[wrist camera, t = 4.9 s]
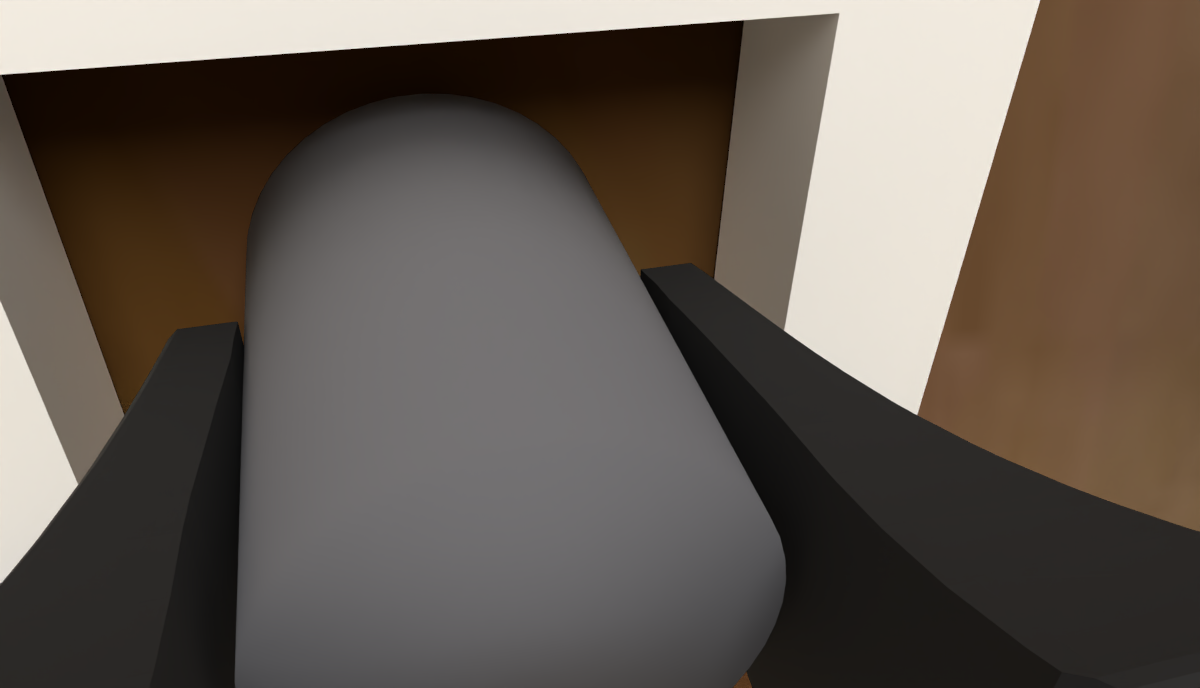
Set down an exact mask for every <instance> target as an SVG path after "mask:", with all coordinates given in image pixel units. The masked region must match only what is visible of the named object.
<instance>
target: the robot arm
mask: <svg viewBox="0 0 1200 688" xmlns="http://www.w3.org/2000/svg"><path fill="white" fill-rule="evenodd" d="M641 280H642V282H643V284H644V286H645V287H646V289H647V291H648V293H649V295H650V297H651V299H652V300H653V302H654V304H655V306H656V308H657V310H658V311H659V313H660V315H661V317H662V319H663V321H664V322H665V324H666V326H667V328H668V330H669V332H670V333H671V335H672V337H673V339H674V341H675V343H676V345H677V346H678V348H679V350H680V352H681V354H682V356H683V357H684V359H685V361H686V363H687V365H688V367H689V368H690V370H691V372H692V374H693V376H694V378H695V379H696V381H697V383H698V385H699V387H700V389H701V391H702V392H703V394H704V396H705V398H706V400H707V402H708V403H709V405H710V407H711V409H712V411H713V413H714V414H715V416H716V418H717V420H718V422H719V424H720V425H721V427H722V429H723V431H724V433H725V435H726V437H727V438H728V440H729V442H730V444H731V446H732V448H733V449H734V451H735V453H736V455H737V457H738V459H739V460H740V462H741V464H742V466H743V468H744V470H745V471H746V473H747V475H748V477H749V479H750V481H751V483H752V484H753V486H754V488H755V490H756V492H757V494H758V495H759V497H760V499H761V501H762V503H763V505H764V506H765V508H766V510H767V512H768V514H769V516H770V517H771V520H772V522H773V524H774V526H775V528H776V530H777V532H778V534H779V536H780V539H781V543H782V547H783V551H784V555H785V564H786V584H785V590H784V596H783V603H782V606H781V609H780V612H779V615H778V618H777V621H776V624H775V626H774V628H773V630H772V632H771V634H770V636H769V638H768V640H767V642H766V644H765V646H764V647H763V649H762V650H761V652H760V653H759V654H758V656H757V657H756V659H755V660H754V662H753V663H752V665H751V666H750V668H749V669H748V670H747V674H748V677H749V680H750V682H751V685H752V688H1200V532H1198V531H1195V530H1192V529H1188V528H1185V527H1182V526H1179V525H1176V524H1173V523H1170V522H1167V521H1164V520H1161V519H1158V518H1155V517H1153V516H1150V515H1147V514H1144V513H1141V512H1138V511H1135V510H1132V509H1129V508H1126V507H1123V506H1120V505H1117V504H1115V503H1112V502H1109V501H1106V500H1104V499H1101V498H1099V497H1096V496H1093V495H1091V494H1088V493H1085V492H1083V491H1080V490H1077V489H1075V488H1072V487H1070V486H1067V485H1065V484H1062V483H1060V482H1057V481H1055V480H1053V479H1050V478H1048V477H1046V476H1043V475H1041V474H1039V473H1036V472H1034V471H1032V470H1029V469H1027V468H1025V467H1022V466H1020V465H1017V464H1015V463H1013V462H1010V461H1008V460H1006V459H1004V458H1001V457H999V456H997V455H995V454H993V453H991V452H989V451H986V450H984V449H982V448H980V447H978V446H976V445H974V444H972V443H970V442H968V441H966V440H964V439H962V438H960V437H958V436H956V435H954V434H952V433H950V432H948V431H946V430H944V429H943V428H941V427H939V426H937V425H935V424H933V423H931V422H929V421H927V420H925V419H923V418H921V417H919V416H917V415H916V414H914V413H912V412H910V411H909V410H907V409H905V408H903V407H901V406H900V405H898V404H896V403H894V402H893V401H891V400H889V399H888V398H886V397H884V396H883V395H881V394H880V393H878V392H876V391H875V390H873V389H871V388H870V387H868V386H867V385H865V384H863V383H862V382H860V381H858V380H857V379H855V378H854V377H852V376H850V375H849V374H847V373H846V372H844V371H842V370H841V369H839V368H838V367H836V366H835V365H833V364H832V363H830V362H829V361H827V360H826V359H824V358H823V357H821V356H820V355H818V354H817V353H815V352H814V351H812V350H811V349H809V348H808V347H807V346H805V345H804V344H802V343H801V342H799V341H798V340H797V339H795V338H794V337H792V336H791V335H789V334H788V333H787V332H785V331H784V330H782V329H781V328H780V327H778V326H777V325H776V324H774V323H773V322H771V321H770V320H769V319H767V318H766V317H764V316H763V315H762V314H760V313H759V312H758V311H756V310H755V309H754V308H752V307H751V306H750V305H748V304H747V303H745V302H744V301H743V300H741V299H740V298H739V297H737V296H736V295H735V294H733V293H732V292H731V291H729V290H728V289H727V288H725V287H724V286H723V285H721V284H720V283H718V282H717V281H716V280H714V279H713V278H712V277H710V276H709V275H707V274H706V273H705V272H703V271H702V270H700V269H699V268H697V267H696V266H694V265H693V264H691V263H688V264H680V265H672V266H664V267H657V268H649V269H641ZM243 362H244V345H243V341H242V337H241V333H240V329H239V325H238V322H230V323H223V324H215V325H207V326H199V327H192V328H184V329H177V330H176V331H175V332H174V334H173V335H172V336H171V337H170V338H169V339H168V341H167V343H166V345H165V347H164V348H163V350H162V352H161V354H160V356H159V357H158V359H157V361H156V363H155V364H154V366H153V368H152V370H151V372H150V373H149V375H148V377H147V379H146V380H145V382H144V384H143V385H142V387H141V389H140V391H139V392H138V394H137V395H136V397H135V399H134V400H133V402H132V404H131V405H130V407H129V409H128V410H127V412H126V414H125V415H124V417H123V418H122V420H121V422H120V423H119V425H118V426H117V428H116V429H115V431H114V432H113V434H112V435H111V437H110V438H109V440H108V441H107V443H106V444H105V446H104V447H103V449H102V450H101V452H100V454H99V455H98V457H97V458H96V460H95V461H94V463H93V464H92V466H91V467H90V469H89V470H88V472H87V473H86V474H85V476H84V477H83V479H82V480H81V482H80V483H79V484H78V486H77V487H76V488H75V490H74V491H73V492H72V494H71V495H70V496H69V498H68V499H67V500H66V502H65V503H64V504H63V506H62V507H61V508H60V510H59V511H58V512H57V514H56V515H55V516H54V518H53V519H52V520H51V522H50V523H49V524H48V526H47V527H46V528H45V530H44V531H43V532H42V534H41V535H40V537H39V538H38V539H37V540H36V542H35V543H34V544H33V545H32V547H31V548H30V549H29V550H28V552H27V553H26V554H25V555H24V556H23V558H22V559H21V560H20V561H19V563H18V564H17V565H16V566H15V567H14V569H13V570H12V571H11V572H10V573H9V574H8V576H7V577H6V578H5V579H4V580H3V582H2V583H1V584H0V688H235V651H236V615H237V579H238V543H239V506H240V470H241V434H242V398H243Z"/></svg>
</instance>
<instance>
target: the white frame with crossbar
mask: <svg viewBox="0 0 1200 688" xmlns="http://www.w3.org/2000/svg"><path fill="white" fill-rule="evenodd" d="M1039 2H1040V0H0V584H1V583H2V582H3V580H4V579H5V578H6V577H7V576H8V574H9V573H10V572H11V571H12V570H13V569H14V567H15V566H16V565H17V564H18V563H19V561H20V560H21V559H22V558H23V556H24V555H25V554H26V553H27V552H28V550H29V549H30V548H31V547H32V545H33V544H34V543H35V542H36V540H37V539H38V538H39V537H40V535H41V534H42V532H43V531H44V530H45V528H46V527H47V526H48V524H49V523H50V522H51V520H52V519H53V518H54V516H55V515H56V514H57V512H58V511H59V510H60V508H61V507H62V506H63V504H64V503H65V502H66V500H67V499H68V498H69V496H70V495H71V494H72V492H73V491H74V490H75V488H76V487H77V486H78V484H79V483H80V482H81V480H82V479H83V477H84V476H85V474H86V473H87V472H88V470H89V469H90V467H91V466H92V464H93V463H94V461H95V460H96V458H97V457H98V455H99V454H100V452H101V450H102V449H103V447H104V446H105V444H106V443H107V441H108V440H109V438H110V437H111V435H112V434H113V432H114V431H115V429H116V428H117V426H118V425H119V423H120V422H121V420H122V418H123V417H124V413H123V410H122V408H121V405H120V402H119V399H118V397H117V394H116V391H115V388H114V386H113V383H112V380H111V377H110V374H109V372H108V369H107V366H106V363H105V361H104V358H103V355H102V352H101V350H100V347H99V344H98V341H97V338H96V336H95V333H94V330H93V327H92V325H91V322H90V319H89V316H88V313H87V311H86V308H85V305H84V302H83V300H82V297H81V294H80V291H79V289H78V286H77V283H76V280H75V277H74V275H73V272H72V269H71V266H70V264H69V261H68V258H67V255H66V253H65V250H64V247H63V244H62V241H61V239H60V236H59V233H58V230H57V228H56V225H55V222H54V219H53V217H52V214H51V211H50V208H49V205H48V203H47V200H46V197H45V194H44V192H43V189H42V186H41V183H40V181H39V178H38V175H37V172H36V169H35V167H34V164H33V161H32V158H31V156H30V153H29V150H28V147H27V144H26V142H25V139H24V136H23V133H22V131H21V128H20V125H19V122H18V120H17V117H16V114H15V111H14V108H13V106H12V103H11V100H10V97H9V95H8V92H7V89H6V86H5V84H4V81H3V78H2V75H3V74H16V73H30V72H43V71H57V70H71V69H84V68H98V67H112V66H125V65H139V64H153V63H166V62H180V61H193V60H207V59H221V58H234V57H248V56H262V55H275V54H289V53H303V52H316V51H330V50H343V49H357V48H371V47H384V46H398V45H412V44H425V43H439V42H453V41H466V40H480V39H493V38H507V37H521V36H534V35H548V34H562V33H575V32H589V31H603V30H616V29H630V28H643V27H657V26H671V25H684V24H698V23H712V22H725V21H739V20H744V25H743V34H742V42H741V51H740V60H739V68H738V77H737V86H736V94H735V103H734V112H733V120H732V129H731V138H730V146H729V155H728V164H727V172H726V181H725V190H724V198H723V207H722V216H721V224H720V233H719V242H718V250H717V259H716V268H715V276H714V280H716V281H717V282H718V283H720V284H721V285H723V286H724V287H725V288H727V289H728V290H729V291H731V292H732V293H733V294H735V295H736V296H737V297H739V298H740V299H741V300H743V301H744V302H745V303H747V304H748V305H750V306H751V307H752V308H754V309H755V310H756V311H758V312H759V313H760V314H762V315H763V316H764V317H766V318H767V319H769V320H770V321H771V322H773V323H774V324H776V325H777V326H778V327H780V328H781V329H782V330H784V331H785V332H787V333H788V334H789V335H791V336H792V337H794V338H795V339H797V340H798V341H799V342H801V343H802V344H804V345H805V346H807V347H808V348H809V349H811V350H812V351H814V352H815V353H817V354H818V355H820V356H821V357H823V358H824V359H826V360H827V361H829V362H830V363H832V364H833V365H835V366H836V367H838V368H839V369H841V370H842V371H844V372H846V373H847V374H849V375H850V376H852V377H854V378H855V379H857V380H858V381H860V382H862V383H863V384H865V385H867V386H868V387H870V388H871V389H873V390H875V391H876V392H878V393H880V394H881V395H883V396H884V397H886V398H888V399H889V400H891V401H893V402H894V403H896V404H898V405H900V406H901V407H903V408H905V409H907V410H909V411H910V412H912V413H914V414H916V415H917V414H918V410H919V407H920V404H921V400H922V397H923V394H924V390H925V387H926V383H927V380H928V377H929V373H930V370H931V367H932V363H933V360H934V356H935V353H936V350H937V346H938V343H939V340H940V336H941V333H942V329H943V326H944V323H945V319H946V316H947V313H948V309H949V306H950V303H951V299H952V296H953V292H954V289H955V286H956V282H957V279H958V276H959V272H960V269H961V265H962V262H963V259H964V255H965V252H966V249H967V245H968V242H969V238H970V235H971V232H972V228H973V225H974V222H975V218H976V215H977V211H978V208H979V205H980V201H981V198H982V195H983V191H984V188H985V185H986V181H987V178H988V174H989V171H990V168H991V164H992V161H993V158H994V154H995V151H996V147H997V144H998V141H999V137H1000V134H1001V131H1002V127H1003V124H1004V120H1005V117H1006V114H1007V110H1008V107H1009V104H1010V100H1011V97H1012V93H1013V90H1014V87H1015V83H1016V80H1017V77H1018V73H1019V70H1020V67H1021V63H1022V60H1023V56H1024V53H1025V50H1026V46H1027V43H1028V40H1029V36H1030V33H1031V29H1032V26H1033V23H1034V19H1035V16H1036V13H1037V9H1038V6H1039Z"/></svg>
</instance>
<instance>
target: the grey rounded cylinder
mask: <svg viewBox="0 0 1200 688" xmlns="http://www.w3.org/2000/svg"><path fill="white" fill-rule="evenodd" d="M785 584H786V564H785V555H784V551H783V547H782V543H781V539H780V536H779V534H778V532H777V530H776V528H775V526H774V524H773V522H772V520H771V517H770V516H769V514H768V512H767V510H766V508H765V506H764V505H763V503H762V501H761V499H760V497H759V495H758V494H757V492H756V490H755V488H754V486H753V484H752V483H751V481H750V479H749V477H748V475H747V473H746V471H745V470H744V468H743V466H742V464H741V462H740V460H739V459H738V457H737V455H736V453H735V451H734V449H733V448H732V446H731V444H730V442H729V440H728V438H727V437H726V435H725V433H724V431H723V429H722V427H721V425H720V424H719V422H718V420H717V418H716V416H715V414H714V413H713V411H712V409H711V407H710V405H709V403H708V402H707V400H706V398H705V396H704V394H703V392H702V391H701V389H700V387H699V385H698V383H697V381H696V379H695V378H694V376H693V374H692V372H691V370H690V368H689V367H688V365H687V363H686V361H685V359H684V357H683V356H682V354H681V352H680V350H679V348H678V346H677V345H676V343H675V341H674V339H673V337H672V335H671V333H670V332H669V330H668V328H667V326H666V324H665V322H664V321H663V319H662V317H661V315H660V313H659V311H658V310H657V308H656V306H655V304H654V302H653V300H652V299H651V297H650V295H649V293H648V291H647V289H646V287H645V286H644V284H643V282H642V280H641V278H640V276H639V275H638V273H637V271H636V269H635V267H634V265H633V264H632V262H631V260H630V258H629V256H628V254H627V253H626V251H625V249H624V247H623V245H622V243H621V241H620V240H619V238H618V236H617V234H616V232H615V230H614V229H613V227H612V225H611V223H610V221H609V219H608V218H607V216H606V214H605V212H604V210H603V208H602V207H601V205H600V203H599V201H598V199H597V197H596V195H595V194H594V192H593V190H592V188H591V186H590V184H589V183H588V181H587V179H586V177H585V175H584V173H583V172H582V170H581V168H580V167H579V165H578V164H577V163H576V161H575V160H574V158H573V157H572V156H571V154H570V153H569V152H568V151H567V150H566V149H565V148H564V147H563V145H562V144H561V143H560V142H559V141H558V140H557V139H556V138H555V137H554V136H552V135H551V134H550V133H549V132H547V131H546V130H545V129H543V128H542V127H541V126H540V125H538V124H537V123H535V122H533V121H532V120H530V119H528V118H527V117H525V116H523V115H521V114H520V113H518V112H516V111H513V110H511V109H508V108H506V107H503V106H501V105H499V104H496V103H493V102H489V101H485V100H481V99H478V98H474V97H468V96H460V95H453V94H414V95H405V96H397V97H392V98H388V99H384V100H380V101H376V102H372V103H369V104H366V105H364V106H361V107H359V108H356V109H353V110H351V111H348V112H346V113H344V114H342V115H340V116H338V117H337V118H335V119H333V120H331V121H329V122H327V123H325V124H324V125H322V126H321V127H320V128H318V129H317V130H315V131H314V132H313V133H311V134H310V135H308V136H307V137H306V138H304V139H303V140H302V141H301V142H300V143H299V144H298V145H297V146H296V147H295V148H294V149H293V150H292V151H291V152H289V153H288V154H287V155H286V157H285V158H284V159H283V160H282V162H281V163H280V164H279V165H278V167H277V168H276V169H275V170H274V172H273V173H272V174H271V176H270V178H269V180H268V181H267V183H266V185H265V186H264V188H263V190H262V192H261V193H260V196H259V198H258V201H257V203H256V206H255V209H254V211H253V214H252V218H251V222H250V227H249V231H248V237H247V255H246V289H245V325H244V362H243V398H242V434H241V470H240V506H239V543H238V579H237V615H236V651H235V688H732V687H733V686H734V685H735V684H736V683H737V682H738V680H739V679H740V678H741V677H742V676H743V675H744V673H745V672H746V671H747V670H748V669H749V668H750V666H751V665H752V663H753V662H754V660H755V659H756V657H757V656H758V654H759V653H760V652H761V650H762V649H763V647H764V646H765V644H766V642H767V640H768V638H769V636H770V634H771V632H772V630H773V628H774V626H775V624H776V621H777V618H778V615H779V612H780V609H781V606H782V603H783V596H784V590H785Z"/></svg>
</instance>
